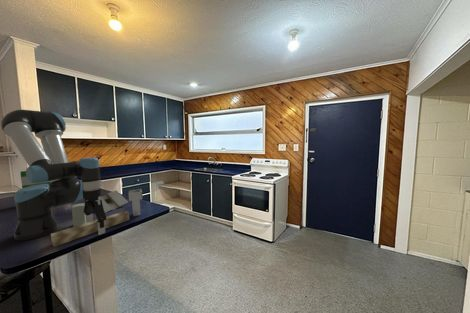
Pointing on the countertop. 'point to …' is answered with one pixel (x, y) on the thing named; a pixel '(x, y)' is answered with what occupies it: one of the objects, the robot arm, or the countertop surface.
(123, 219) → the rail
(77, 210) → the post
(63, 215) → the countertop surface
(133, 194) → the cup bracket
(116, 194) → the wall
